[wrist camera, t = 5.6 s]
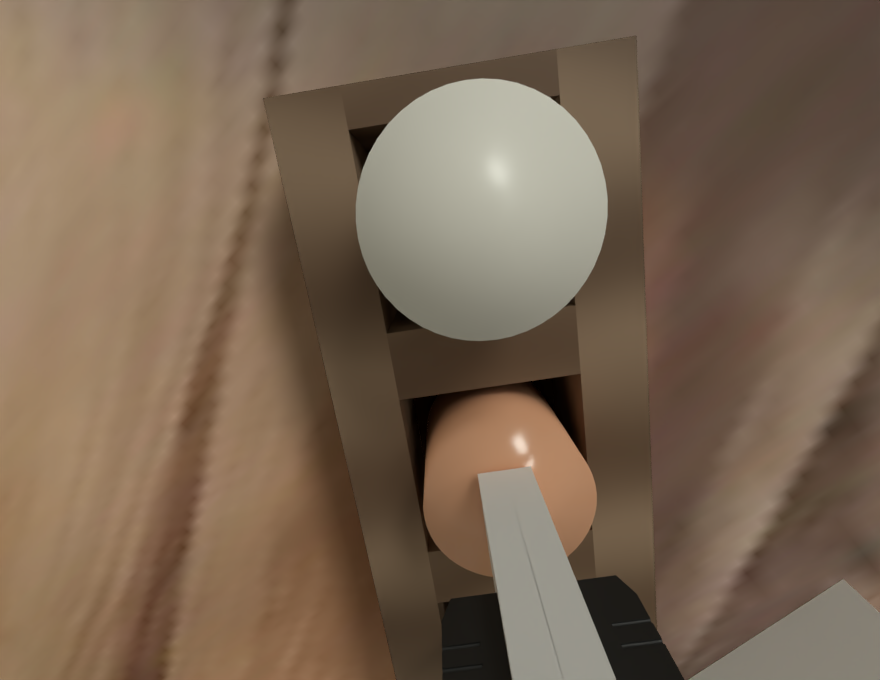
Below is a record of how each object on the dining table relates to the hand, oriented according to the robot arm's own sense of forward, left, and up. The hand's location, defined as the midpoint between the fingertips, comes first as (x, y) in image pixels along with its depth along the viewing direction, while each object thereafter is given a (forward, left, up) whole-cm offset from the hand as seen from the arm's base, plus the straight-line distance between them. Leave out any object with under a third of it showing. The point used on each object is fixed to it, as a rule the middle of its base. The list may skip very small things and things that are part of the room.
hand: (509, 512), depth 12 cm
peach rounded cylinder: (0, 0, -5) cm, 5 cm away
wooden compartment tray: (0, 0, -6) cm, 6 cm away
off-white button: (-8, 0, -3) cm, 9 cm away
